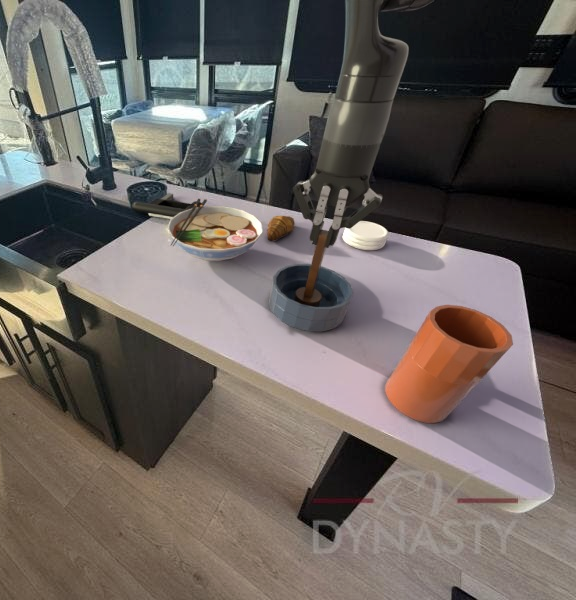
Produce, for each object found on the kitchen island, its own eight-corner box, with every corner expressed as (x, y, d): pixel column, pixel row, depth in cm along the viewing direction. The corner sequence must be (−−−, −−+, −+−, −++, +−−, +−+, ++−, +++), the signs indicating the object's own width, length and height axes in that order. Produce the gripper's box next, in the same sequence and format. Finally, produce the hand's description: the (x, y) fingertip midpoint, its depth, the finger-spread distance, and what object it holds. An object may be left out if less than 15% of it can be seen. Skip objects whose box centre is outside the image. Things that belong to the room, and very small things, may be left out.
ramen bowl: (249, 288, 71) (253, 256, 66) (152, 270, 78) (149, 239, 72) (266, 235, 89) (270, 206, 84) (186, 224, 96) (186, 197, 90)
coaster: (333, 236, 88) (337, 223, 85) (364, 229, 90) (368, 217, 88) (361, 254, 80) (365, 241, 78) (393, 246, 83) (399, 234, 80)
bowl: (350, 300, 67) (359, 276, 63) (333, 344, 58) (343, 320, 54) (282, 279, 73) (287, 256, 70) (257, 316, 64) (261, 292, 60)
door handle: (153, 188, 111) (128, 204, 100) (208, 196, 105) (189, 214, 93) (153, 198, 113) (129, 214, 102) (208, 206, 107) (189, 225, 95)
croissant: (278, 220, 96) (281, 204, 93) (301, 226, 92) (305, 209, 89) (257, 239, 88) (259, 222, 84) (281, 246, 84) (284, 229, 81)
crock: (448, 390, 50) (509, 318, 41) (447, 433, 45) (516, 363, 35) (388, 368, 54) (431, 297, 44) (381, 405, 48) (427, 334, 39)
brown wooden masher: (321, 300, 66) (342, 229, 56) (315, 315, 63) (335, 242, 53) (297, 293, 68) (313, 223, 58) (290, 307, 65) (305, 235, 55)
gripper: (295, 136, 46) (275, 244, 57) (405, 148, 40) (359, 266, 51) (310, 125, 51) (289, 226, 62) (411, 134, 45) (368, 244, 56)
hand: (321, 244), depth 57 cm, fingers closed on brown wooden masher, 1 cm apart
